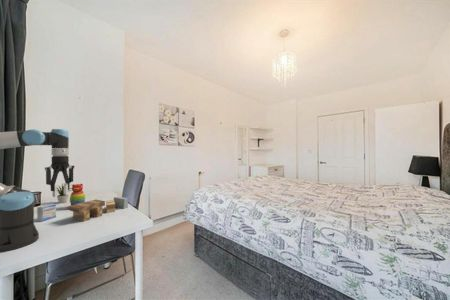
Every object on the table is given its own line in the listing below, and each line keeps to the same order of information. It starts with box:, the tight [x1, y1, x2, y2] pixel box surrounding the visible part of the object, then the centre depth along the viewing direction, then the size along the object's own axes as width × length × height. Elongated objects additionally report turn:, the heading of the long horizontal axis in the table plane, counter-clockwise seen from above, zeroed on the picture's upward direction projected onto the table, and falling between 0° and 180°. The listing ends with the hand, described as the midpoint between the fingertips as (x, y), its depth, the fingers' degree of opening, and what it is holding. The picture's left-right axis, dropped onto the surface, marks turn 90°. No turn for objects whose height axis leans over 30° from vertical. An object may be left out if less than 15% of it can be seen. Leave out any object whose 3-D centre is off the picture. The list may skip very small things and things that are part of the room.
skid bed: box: [72, 206, 103, 222], centre depth 123 cm, size 11×12×6 cm
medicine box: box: [36, 203, 57, 222], centre depth 120 cm, size 8×4×9 cm, turn 168°
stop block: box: [113, 196, 129, 209], centre depth 145 cm, size 3×12×7 cm, turn 66°
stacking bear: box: [67, 183, 86, 211], centre depth 144 cm, size 11×10×18 cm
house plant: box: [56, 182, 72, 204], centre depth 154 cm, size 14×14×16 cm
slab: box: [68, 199, 106, 213], centre depth 123 cm, size 16×10×3 cm, turn 156°
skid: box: [105, 199, 116, 214], centre depth 138 cm, size 12×5×6 cm, turn 34°
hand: (60, 195), depth 110 cm, fingers open, 5 cm apart
